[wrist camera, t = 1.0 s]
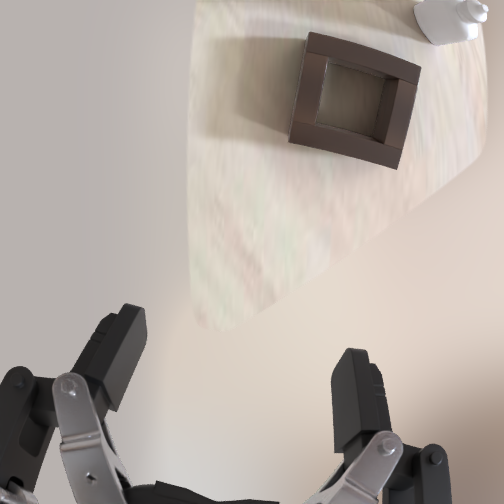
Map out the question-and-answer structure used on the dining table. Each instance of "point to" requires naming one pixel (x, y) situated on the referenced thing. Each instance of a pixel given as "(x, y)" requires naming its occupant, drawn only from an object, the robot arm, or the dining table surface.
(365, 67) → the holder
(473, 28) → the eye dropper bottle
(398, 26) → the dining table surface
